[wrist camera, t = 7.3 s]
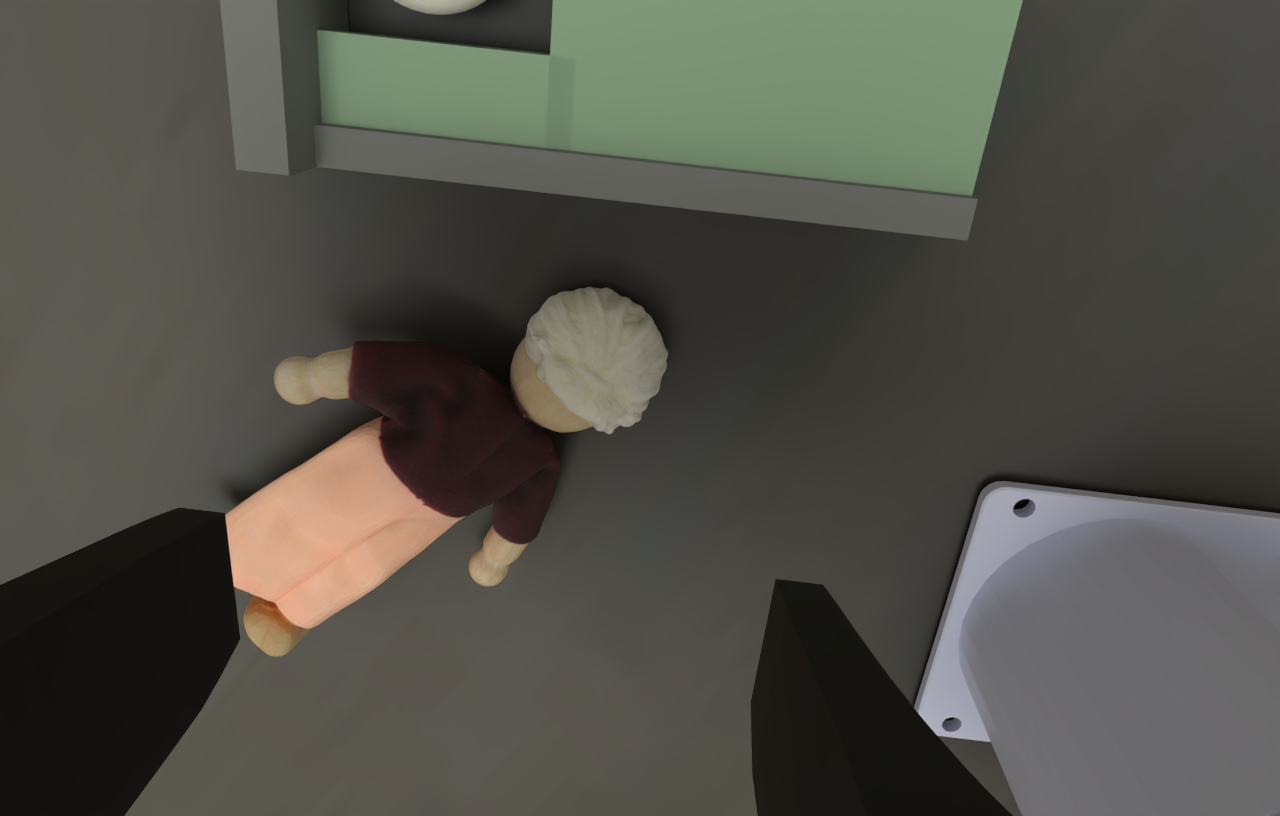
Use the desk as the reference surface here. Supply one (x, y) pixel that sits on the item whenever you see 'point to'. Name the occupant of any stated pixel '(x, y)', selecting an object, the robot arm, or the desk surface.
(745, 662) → the desk surface
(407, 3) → the ball
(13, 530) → the desk surface
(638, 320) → the grandmother figurine
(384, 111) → the green walled tray
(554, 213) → the desk surface
